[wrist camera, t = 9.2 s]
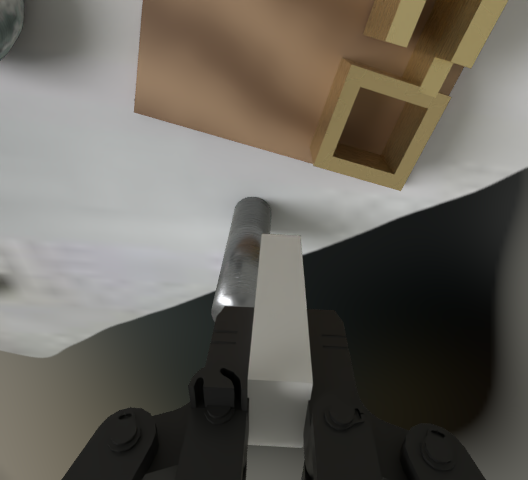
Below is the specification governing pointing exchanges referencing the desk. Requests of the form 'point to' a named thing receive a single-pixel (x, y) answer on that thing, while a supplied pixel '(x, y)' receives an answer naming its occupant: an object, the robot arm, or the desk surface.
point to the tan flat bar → (394, 20)
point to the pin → (242, 255)
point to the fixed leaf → (404, 93)
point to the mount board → (267, 69)
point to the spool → (10, 23)
